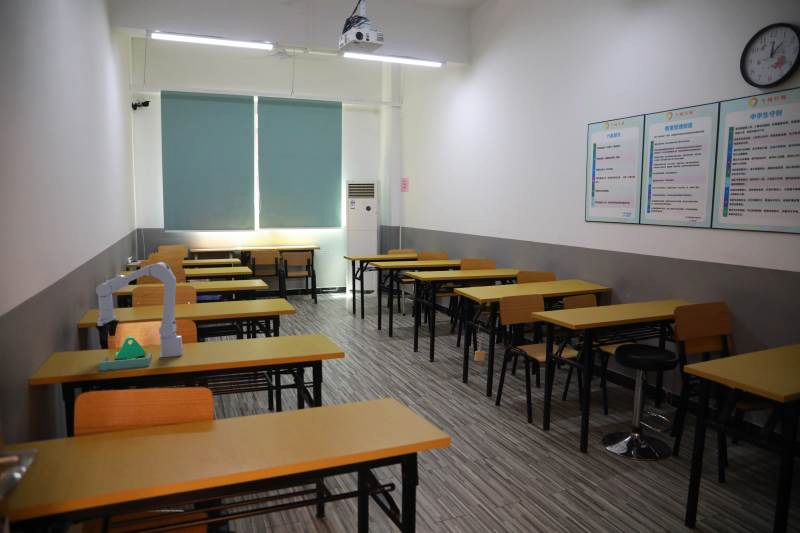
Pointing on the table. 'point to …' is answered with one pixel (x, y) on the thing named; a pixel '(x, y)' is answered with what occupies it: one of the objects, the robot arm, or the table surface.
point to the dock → (125, 363)
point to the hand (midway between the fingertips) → (108, 337)
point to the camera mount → (130, 349)
